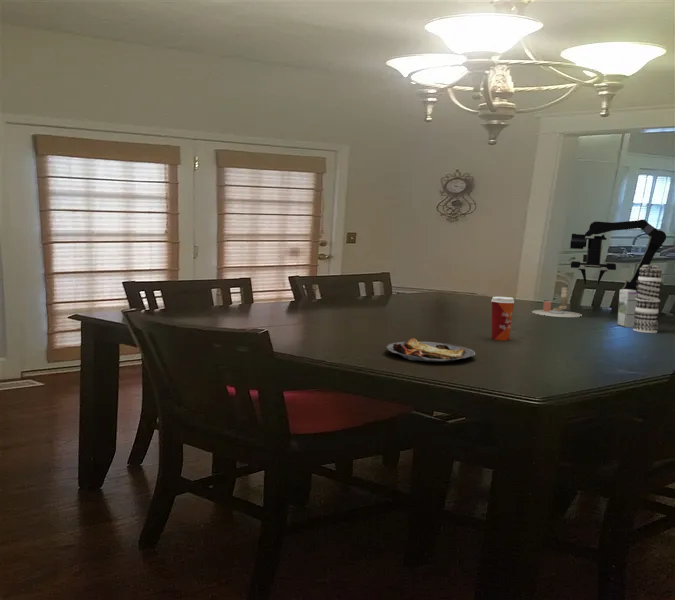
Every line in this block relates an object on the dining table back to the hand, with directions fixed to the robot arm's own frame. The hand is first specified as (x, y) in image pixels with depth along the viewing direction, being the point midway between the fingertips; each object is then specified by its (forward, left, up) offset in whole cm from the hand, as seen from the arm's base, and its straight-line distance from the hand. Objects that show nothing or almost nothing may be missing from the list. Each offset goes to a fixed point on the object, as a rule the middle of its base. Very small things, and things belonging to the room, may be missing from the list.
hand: (591, 284), depth 293 cm
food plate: (-108, +86, -14) cm, 139 cm away
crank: (0, +13, -11) cm, 17 cm away
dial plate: (-5, +16, -13) cm, 21 cm away
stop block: (+2, +18, -13) cm, 23 cm away
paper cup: (-76, +58, -13) cm, 97 cm away
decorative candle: (-46, -4, -13) cm, 48 cm away
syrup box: (-35, -2, -13) cm, 38 cm away
